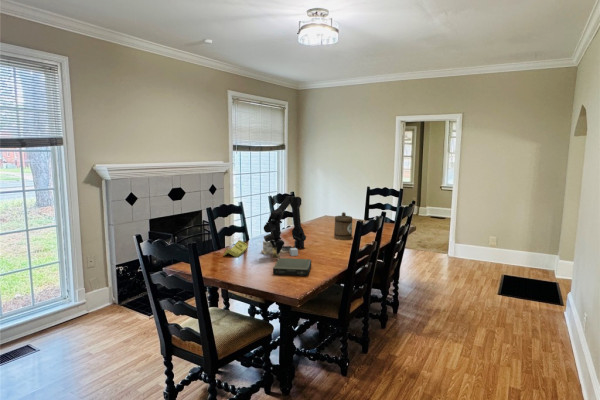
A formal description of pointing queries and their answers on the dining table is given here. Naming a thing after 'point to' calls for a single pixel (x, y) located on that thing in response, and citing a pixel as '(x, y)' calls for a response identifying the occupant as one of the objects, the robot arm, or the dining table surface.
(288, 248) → the mounted unit
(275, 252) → the brass cylinder
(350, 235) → the wooden container
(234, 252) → the curled yellow paper
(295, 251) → the grey block
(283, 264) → the network switch
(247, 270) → the dining table surface
